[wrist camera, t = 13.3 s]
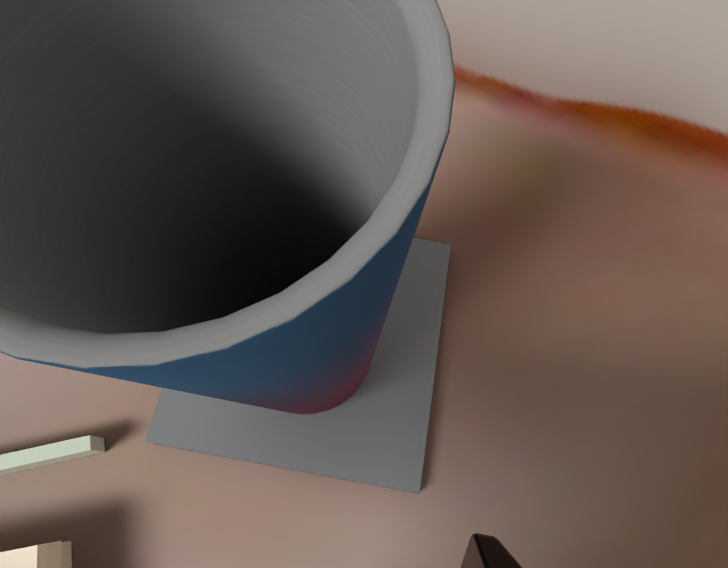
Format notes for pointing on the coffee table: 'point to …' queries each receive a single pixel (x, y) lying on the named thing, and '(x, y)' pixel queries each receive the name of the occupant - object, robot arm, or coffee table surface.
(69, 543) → the offcut bottom
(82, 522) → the coffee table surface
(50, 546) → the offcut top
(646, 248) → the coffee table surface
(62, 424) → the coffee table surface
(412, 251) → the mat
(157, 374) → the cup
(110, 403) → the coffee table surface
